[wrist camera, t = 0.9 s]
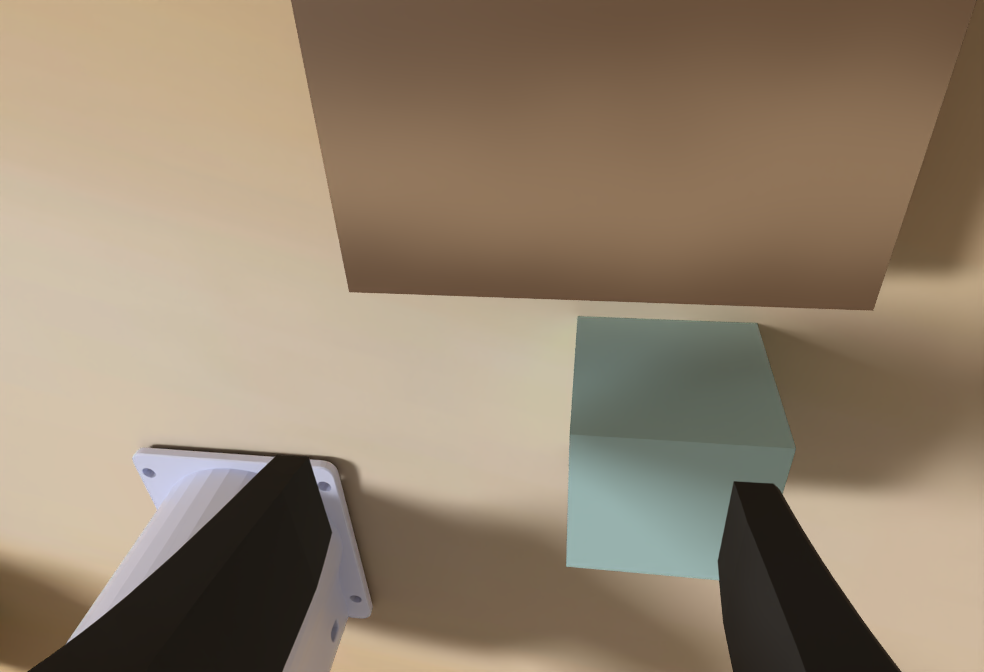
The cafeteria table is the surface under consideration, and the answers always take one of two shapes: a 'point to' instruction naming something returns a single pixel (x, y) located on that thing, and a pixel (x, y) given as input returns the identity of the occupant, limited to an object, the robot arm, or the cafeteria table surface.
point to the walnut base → (626, 144)
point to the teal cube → (667, 441)
